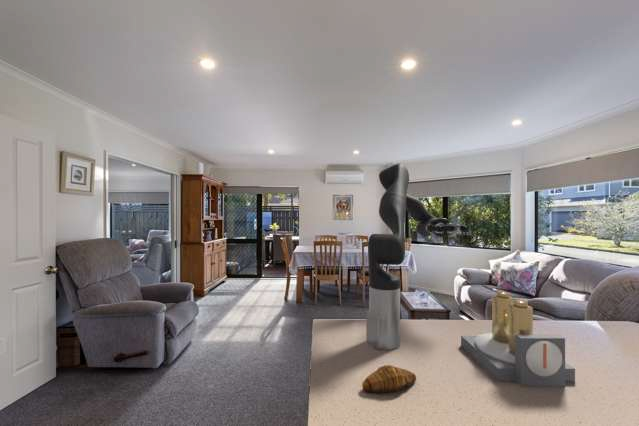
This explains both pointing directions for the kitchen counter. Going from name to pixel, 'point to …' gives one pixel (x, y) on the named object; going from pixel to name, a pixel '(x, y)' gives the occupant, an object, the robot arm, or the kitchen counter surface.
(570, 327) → the kitchen counter surface
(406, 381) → the croissant
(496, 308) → the weight
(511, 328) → the weight
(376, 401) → the kitchen counter surface
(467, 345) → the scale
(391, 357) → the kitchen counter surface
